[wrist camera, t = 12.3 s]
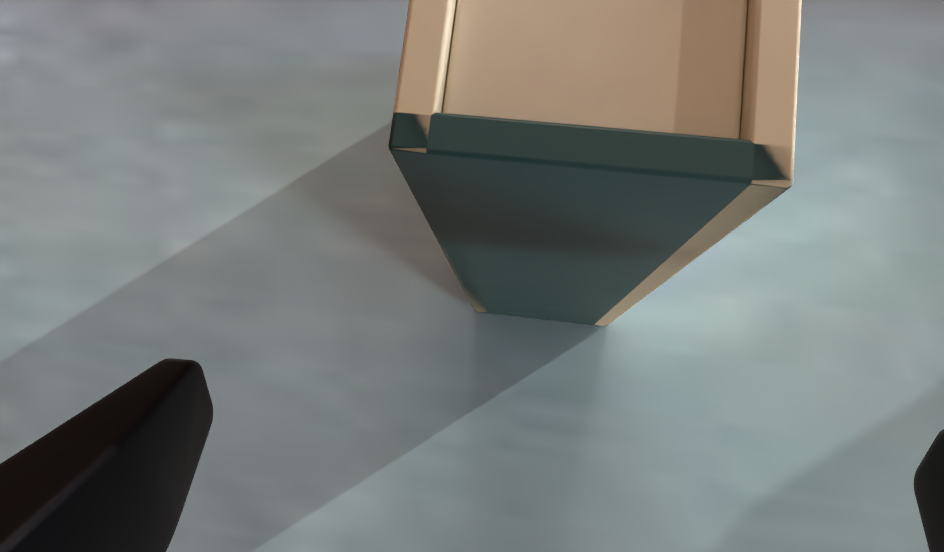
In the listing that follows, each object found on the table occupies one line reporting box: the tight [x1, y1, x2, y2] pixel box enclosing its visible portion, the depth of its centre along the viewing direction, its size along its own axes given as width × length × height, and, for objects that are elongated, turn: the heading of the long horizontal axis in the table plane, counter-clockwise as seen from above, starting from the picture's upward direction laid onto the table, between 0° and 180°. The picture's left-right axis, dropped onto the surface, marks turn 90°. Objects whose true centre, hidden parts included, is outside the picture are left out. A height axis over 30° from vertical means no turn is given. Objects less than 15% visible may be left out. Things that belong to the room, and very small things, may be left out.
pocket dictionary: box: [389, 0, 802, 326], centre depth 13 cm, size 8×4×12 cm, turn 173°
